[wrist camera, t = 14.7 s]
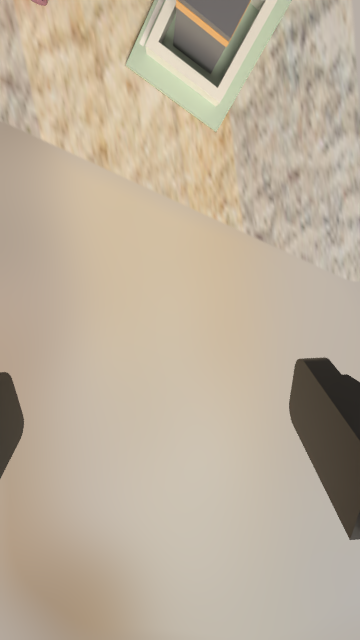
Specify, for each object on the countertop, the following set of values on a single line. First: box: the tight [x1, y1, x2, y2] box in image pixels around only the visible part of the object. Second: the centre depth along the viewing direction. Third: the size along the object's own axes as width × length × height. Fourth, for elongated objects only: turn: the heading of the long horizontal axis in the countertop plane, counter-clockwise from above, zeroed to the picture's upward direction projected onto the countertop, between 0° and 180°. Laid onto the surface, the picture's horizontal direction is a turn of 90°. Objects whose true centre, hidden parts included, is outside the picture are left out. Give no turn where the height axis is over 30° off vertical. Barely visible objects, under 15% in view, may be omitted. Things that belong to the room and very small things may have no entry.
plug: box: [173, 0, 251, 74], centre depth 24 cm, size 4×5×10 cm
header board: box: [126, 0, 292, 132], centre depth 28 cm, size 10×12×3 cm
